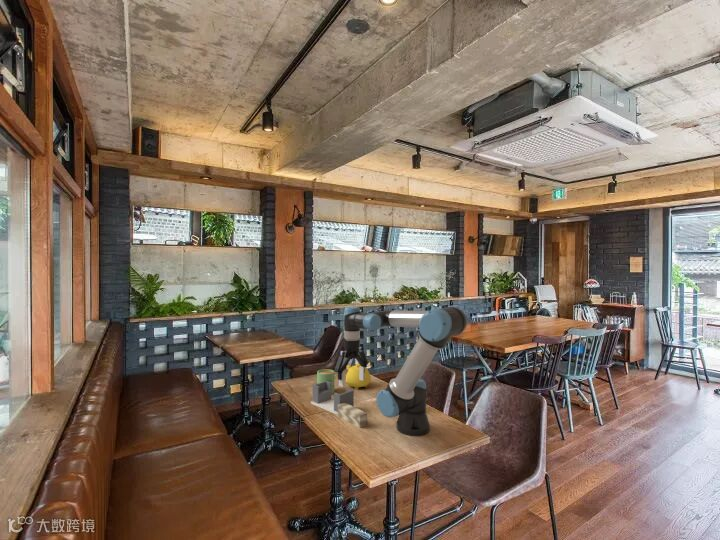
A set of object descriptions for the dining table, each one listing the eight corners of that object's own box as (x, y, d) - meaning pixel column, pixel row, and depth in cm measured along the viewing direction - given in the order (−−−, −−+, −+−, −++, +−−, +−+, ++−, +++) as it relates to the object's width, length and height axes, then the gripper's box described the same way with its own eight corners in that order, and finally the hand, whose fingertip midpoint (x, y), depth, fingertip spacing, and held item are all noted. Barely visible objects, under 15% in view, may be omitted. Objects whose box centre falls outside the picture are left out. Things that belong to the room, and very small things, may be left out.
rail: (367, 425, 177) (367, 413, 176) (359, 428, 174) (359, 415, 174) (344, 414, 190) (344, 402, 190) (337, 416, 187) (337, 404, 187)
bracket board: (355, 409, 195) (355, 390, 195) (339, 415, 187) (339, 395, 187) (326, 398, 212) (326, 380, 211) (310, 403, 204) (310, 385, 204)
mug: (328, 396, 215) (328, 375, 215) (313, 393, 220) (313, 372, 220) (340, 389, 226) (340, 369, 225) (326, 386, 231) (326, 367, 231)
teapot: (337, 383, 238) (337, 361, 238) (357, 379, 247) (357, 358, 246) (354, 392, 221) (354, 369, 221) (375, 387, 230) (376, 365, 230)
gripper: (364, 334, 192) (364, 375, 193) (326, 341, 175) (326, 387, 175) (375, 336, 187) (375, 379, 188) (337, 344, 170) (337, 391, 170)
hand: (351, 383), depth 181 cm, fingers open, 13 cm apart
